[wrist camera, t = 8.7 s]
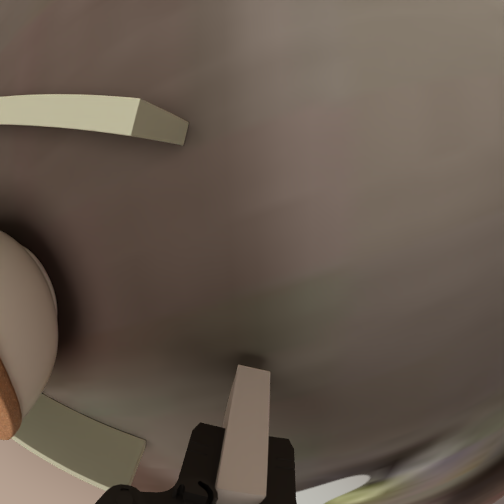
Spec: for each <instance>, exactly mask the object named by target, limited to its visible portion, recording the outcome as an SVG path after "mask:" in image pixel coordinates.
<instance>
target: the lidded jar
mask: <svg viewBox="0 0 504 504" xmlns="http://www.w3.org/2000/svg"><path fill="white" fill-rule="evenodd" d="M57 314H58V309H57V300H56V295H55V291H54V288H53V285H52V283H51V280H50V278H49V276H48V274H47V272H46V270H45V269H44V267H43V265H42V264H41V262H40V261H39V260H38V258H37V257H36V256H35V255H34V254H33V253H32V252H31V251H30V250H29V249H27V248H26V247H24V246H22V245H20V244H19V243H18V242H17V241H16V240H15V239H13V238H12V237H10V236H9V235H8V234H6V233H4V232H2V231H0V439H1V440H9V439H11V438H12V437H13V436H14V435H15V434H16V432H17V431H18V429H19V428H20V425H21V423H22V420H23V419H24V418H25V416H26V415H27V414H28V413H29V411H30V410H31V409H32V407H33V406H34V404H35V403H36V402H37V400H38V398H39V397H40V395H41V393H42V391H43V390H44V388H45V386H46V384H47V382H48V380H49V377H50V375H51V373H52V371H53V367H54V363H55V359H56V355H57V348H58V322H57Z"/></svg>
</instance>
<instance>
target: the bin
mask: <svg viewBox="0 0 504 504" xmlns="http://www.w3.org/2000/svg"><path fill="white" fill-rule="evenodd" d="M0 125H24V126H41V127H55V128H66V129H76V130H86V131H94V132H102V133H110V134H117V135H124V136H131V137H138V138H144V139H150V140H156V141H162V142H167V143H173V144H178V145H184V141H185V137H186V133H187V129H188V125H189V122H187V121H185V120H184V119H182V118H180V117H178V116H176V115H174V114H171V113H169V112H167V111H165V110H163V109H161V108H159V107H157V106H155V105H153V104H151V103H149V102H147V101H144V100H142V99H139V98H129V97H117V96H101V95H76V94H43V95H19V96H5V97H0ZM11 439H13V440H14V441H16V442H17V443H19V444H20V445H22V446H23V447H25V448H26V449H28V450H29V451H31V452H32V453H34V454H35V455H37V456H39V457H41V458H42V459H44V460H45V461H47V462H49V463H50V464H52V465H54V466H56V467H58V468H60V469H61V470H63V471H65V472H67V473H69V474H71V475H73V476H75V477H77V478H79V479H81V480H83V481H85V482H87V483H89V484H91V485H94V486H96V487H98V488H100V489H103V490H105V491H107V490H108V489H109V488H111V487H112V486H115V485H119V484H123V485H130V486H131V483H132V481H133V478H134V475H135V473H136V470H137V468H138V465H139V463H140V460H141V457H142V455H143V452H144V450H145V447H146V440H143V439H140V438H138V437H135V436H132V435H129V434H127V433H124V432H122V431H119V430H117V429H114V428H112V427H109V426H107V425H104V424H102V423H100V422H97V421H95V420H93V419H91V418H89V417H86V416H84V415H82V414H80V413H78V412H76V411H74V410H72V409H70V408H68V407H66V406H64V405H62V404H60V403H58V402H56V401H55V400H53V399H51V398H49V397H47V396H45V395H44V394H42V393H41V395H40V397H39V398H38V400H37V402H36V403H35V404H34V406H33V407H32V409H31V410H30V411H29V413H28V414H27V415H26V416H25V418H24V419H23V420H22V423H21V425H20V428H19V429H18V431H17V432H16V434H15V435H14V436H13V437H12V438H11Z"/></svg>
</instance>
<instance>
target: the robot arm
mask: <svg viewBox="0 0 504 504" xmlns="http://www.w3.org/2000/svg"><path fill="white" fill-rule="evenodd" d="M269 407H270V371H265V370H261V369H256V368H251V367H247V366H243V365H238V367H237V371H236V374H235V378H234V381H233V384H232V388H231V391H230V395H229V398H228V401H227V405H226V410H225V416H224V421H223V426H222V428H221V427H217V426H213V425H209V424H205V423H201V422H200V423H199V424H198V425H197V426H196V427H195V428H194V429H193V431H192V434H191V437H190V441H189V444H188V448H187V451H186V454H185V458H184V461H183V465H182V468H181V472H180V475H179V479H178V481H177V483H176V484H175V486H174V487H173V488H171V489H170V490H168V491H165V492H157V493H155V492H140V491H139V490H138V489H136V488H134V487H132V486H130V485H123V484H119V485H115V486H112V487H111V488H109V489H108V490H107V491H106V492H105V493H104V494H103V495H102V497H101V498H100V499H99V500H98V501H97V502H96V503H95V504H297V503H296V490H295V470H294V469H295V462H294V448H293V447H292V445H291V443H290V441H289V439H284V438H277V437H270V436H269Z"/></svg>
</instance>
